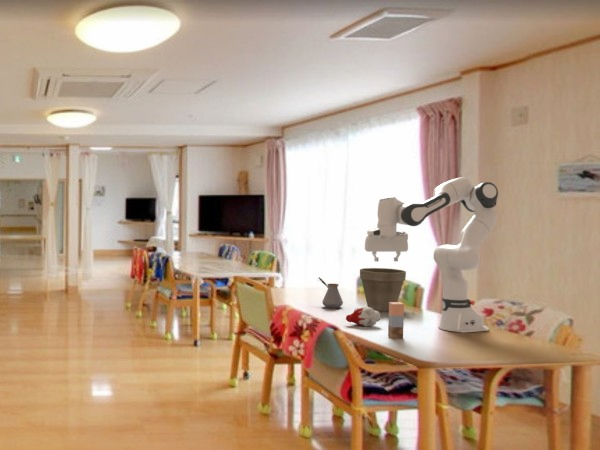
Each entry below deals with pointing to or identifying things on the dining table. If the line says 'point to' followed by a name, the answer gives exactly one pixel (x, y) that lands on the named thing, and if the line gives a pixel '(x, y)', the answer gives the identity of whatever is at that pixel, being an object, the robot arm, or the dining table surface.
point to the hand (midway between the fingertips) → (386, 261)
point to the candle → (364, 316)
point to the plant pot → (381, 286)
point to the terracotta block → (396, 308)
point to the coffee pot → (332, 296)
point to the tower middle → (396, 321)
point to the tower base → (395, 332)
